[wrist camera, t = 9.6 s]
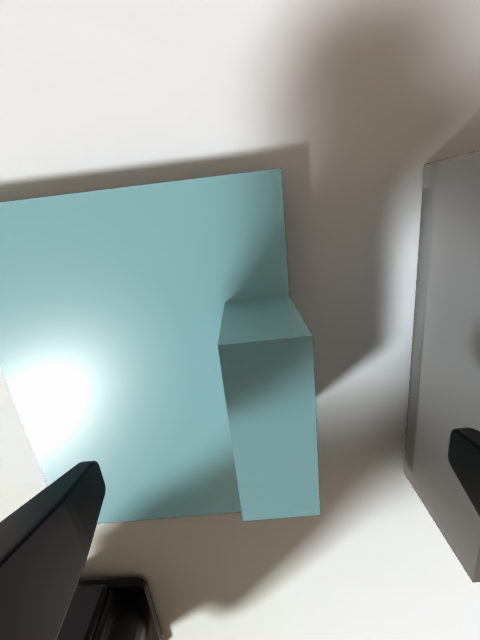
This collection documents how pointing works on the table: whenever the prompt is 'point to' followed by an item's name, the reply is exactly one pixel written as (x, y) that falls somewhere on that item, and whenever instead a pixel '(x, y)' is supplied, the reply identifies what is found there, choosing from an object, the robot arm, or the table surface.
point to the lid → (163, 346)
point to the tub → (446, 349)
